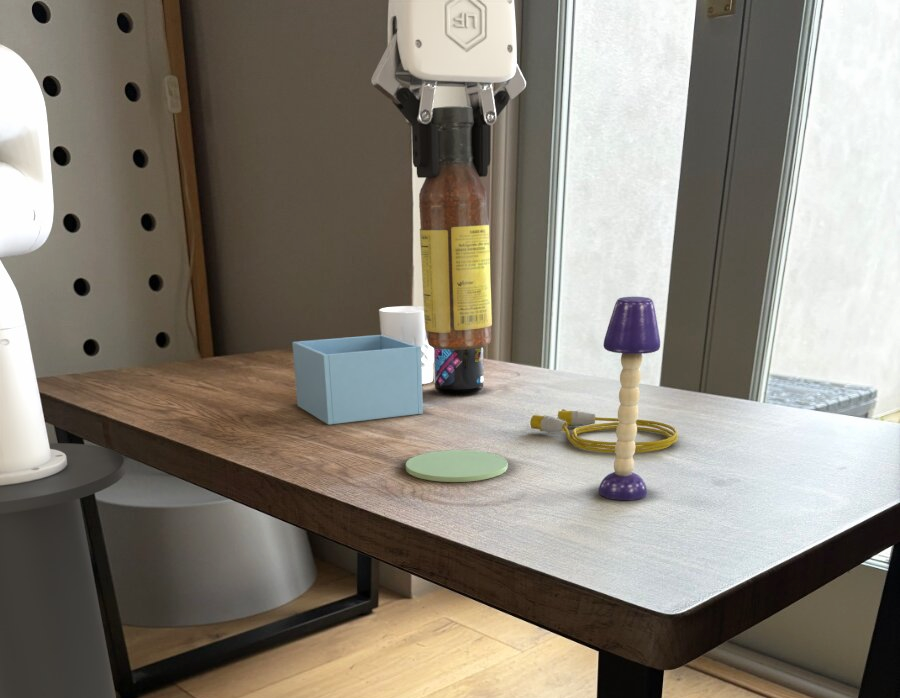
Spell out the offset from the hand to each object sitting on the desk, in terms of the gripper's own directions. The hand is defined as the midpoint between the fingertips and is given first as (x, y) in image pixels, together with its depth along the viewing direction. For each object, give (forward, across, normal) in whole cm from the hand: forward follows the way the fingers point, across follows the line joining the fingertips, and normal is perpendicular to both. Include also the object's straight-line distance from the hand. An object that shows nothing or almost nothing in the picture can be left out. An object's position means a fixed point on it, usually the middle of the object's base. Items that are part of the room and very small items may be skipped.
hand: (452, 174), depth 81 cm
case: (+26, +1, +30) cm, 40 cm away
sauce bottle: (+15, 0, 0) cm, 15 cm away
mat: (+26, 0, 0) cm, 26 cm away
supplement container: (+26, +17, +34) cm, 46 cm away
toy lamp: (+26, +9, -15) cm, 32 cm away
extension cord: (+26, +20, +3) cm, 33 cm away
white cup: (+26, +14, +44) cm, 53 cm away
